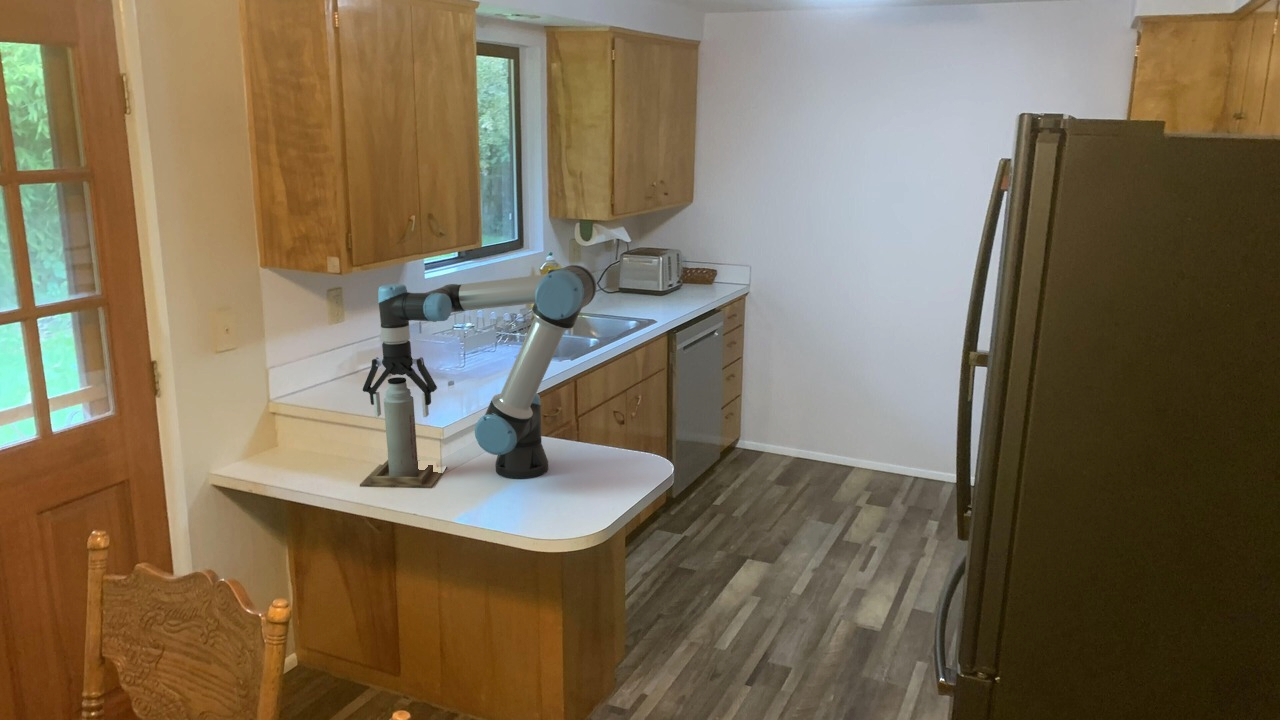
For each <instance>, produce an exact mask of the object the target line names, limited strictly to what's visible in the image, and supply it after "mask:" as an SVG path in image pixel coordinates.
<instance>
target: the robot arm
mask: <svg viewBox="0 0 1280 720" xmlns="http://www.w3.org/2000/svg"><path fill="white" fill-rule="evenodd" d="M377 291H378V294H377V295H378V296H377V297H378V302H377V303H378V307H379V309H378V310H379V318H380V336H381V337H380V338H381V341H382V344H381V347H382V356H383V357H382V358H379V357H374V358H373V359H372V360H371V368H370V370H369V373H368V375H367V378H366V379H365V382H364V384H363V388H362V391H363V393H365V392H366V393H368V394H369V400H370V404H371V406H374V407H373V408H374V409H373V410H374V417H375V418H379V417H380V416H381V415H382V409H381V398H380V391H378V389H379V388H380V387H381V385H382V384H383V383H384V382H385V380H386V379H387V378H388V377H389V375H390V374H391V376H397V375H399V376H404V375H406V376H407V377H409V378H410V379H411V381H412V382H413V383H414V384H415V385H416V386H417V387H418V388H419V389H420V390H421V391H422V393H421V404H422V405H421V406H422V416H423V418H427V417H428V416H429V415H430V413H429V406H430V405H431V404H432V393H434V392H435V391H437V389H438V386H437V385H436V383H435V381H434V379H433V378H432V375H431V373H430V372H429V371H428V369H427V367H426V366H425V361H424V357H421V356H420V357H418V358H413V357H412V345H411V341H410V340H411V333H410V331H411V330H410V321H420V322H433V323H437V322H445V321H447V320H448V319H449V318H450V316H451V314H453V313H459V312H466V311H474V310H475V311H476V310H483V309H484V310H485V309H486V310H487V309H494V308H495V309H496V308H502V307H503V308H505V307H512V306H513V307H514V306H523V305H532V304H533V305H532V308H531V311H532V314H533V317H534V318H533V320H532V323H531V325H530V327H529V329H528V331H527V334H526V336H525V338H524V341H523V343H522V345H521V347H520V350H519V351H518V354H517V357H516V359H515V360H514V363H513V365H512V367H511V370H510V372H509V373H508V375H507V376H508V377H507V378H506V381H505V383H504V385H503V387H502V390H501V391H500V393H498V394H495V395H494V396H492V398H491V400H490V402H489V405H488V407H487V409H486V412H485V413H484V415H482V416H481V417H480V418H479V419H478V420H477V422H476V424H475V427H474V437H475V440H476V442H477V444H478V445H479V447H480V448H481V449H482V450H484V451H485V452H486V453H488V454H490V455H493V456H494V455H496V456H497V457H496V460H495V473H496V474H497V475H499V476H500V477H503V478H508V479H517V480H518V479H520V480H521V479H530V478H535V477H539V476H542V475H544V474H545V473H547V472H548V471H549V460H548V457H547V455H546V451H545V448H544V446H543V443H542V403H541V396H540V395H539V394H538V393H537V392H538V390H539V388H540V385H541V383H542V381H543V379H544V377H545V375H546V374H547V373H546V372H547V371H548V368H549V367H550V364H551V362H552V360H553V358H554V355H555V353H556V351H557V349H558V346H559V344H561V340H562V338H563V335H564V334H565V332H566V331H569V330H571V329H573V328H574V326H575V325H576V321H577V319H578V317H579V316H580V314H581V311H582V309H583V308H585V307H587V306H588V305H589V304H590V303H591V302H592V301H593V299H595V296H596V292H597V281H596V278H595V277H594V274H593V273H592V271H590V270H589V269H588V268H586V267H584V266H581V265H577V264H572V265H568V266H565V267H561V268H556V269H549V270H548V271H547V272H546V273H545V274H538V275H530V276H529V275H528V276H522V277H521V276H520V277H519V276H518V277H513V278H512V277H511V278H504V279H502V278H501V279H496V280H495V279H494V280H487V281H478V282H470V283H461V284H458V283H450V284H445V285H443V286H442V287H438V288H436V289H433V290H432V289H431V290H430V291H426V292H410V291H408V290H407V286H406V285H405V284H402V283H390V284H389V283H388V284H383V285H381V286H379V288H378V290H377ZM381 365H382V366H383V367H384V369H385V370H384V371H383V372H382V374H381V375H380V376H379V378H378V379H377V380H376V381H375V383H374V384H373V382H374V379H375V377H376V374H377V372H378V370H379V367H380V366H381ZM413 365H414V366H415V367H417V370H418V372H419V373H420V375H421V376H422V378H423V379H422V378H421V377H420V375H418V373H417V372H416V371H415V369H414V368H413V367H412V366H413ZM372 384H373V385H372Z"/></svg>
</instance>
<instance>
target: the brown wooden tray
mask: <svg viewBox="0 0 1280 720" xmlns="http://www.w3.org/2000/svg"><path fill="white" fill-rule="evenodd" d="M442 475H443V474H442V473H438V472H433V465H428V467H427V468H426V469H425V470H419V469H418V475H417V476H415V477H396V476H389V464H388V459H387V460H386V461H385V462H384V463H383V464H378V466H377V467H375V468H374V469H373V470H372V471H371V472H370V473H369V475H368V476H366V478H364V480H362V482H360V483H359V487H363V488H364V487H366V488H367V487H368V488H370V487H371V488H401V489H402V488H407V489H411V488H412V489H432V488H433V487H434V486H435V484H436V483H437V482H438V480H439V479H440V478H441V477H442Z"/></svg>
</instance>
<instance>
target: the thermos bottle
mask: <svg viewBox="0 0 1280 720" xmlns="http://www.w3.org/2000/svg"><path fill="white" fill-rule="evenodd" d="M387 383H388V389H387V390H386V391H385V398H384V399H383V408H384V419H385V420H384V421H385V436H386V445H387V460H388V464H389V476H396V477H415V476H417V475H418V461H419V460H418V449H417V448H418V446H417V434H416V433H417V431H416V420H415V404H414V403H415V401H414V397H413V396H412V395H411V394H412V392H411V389H410V388H408V386H407V378H406V377H400V376H399V377H391V378H388V379H387Z"/></svg>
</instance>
